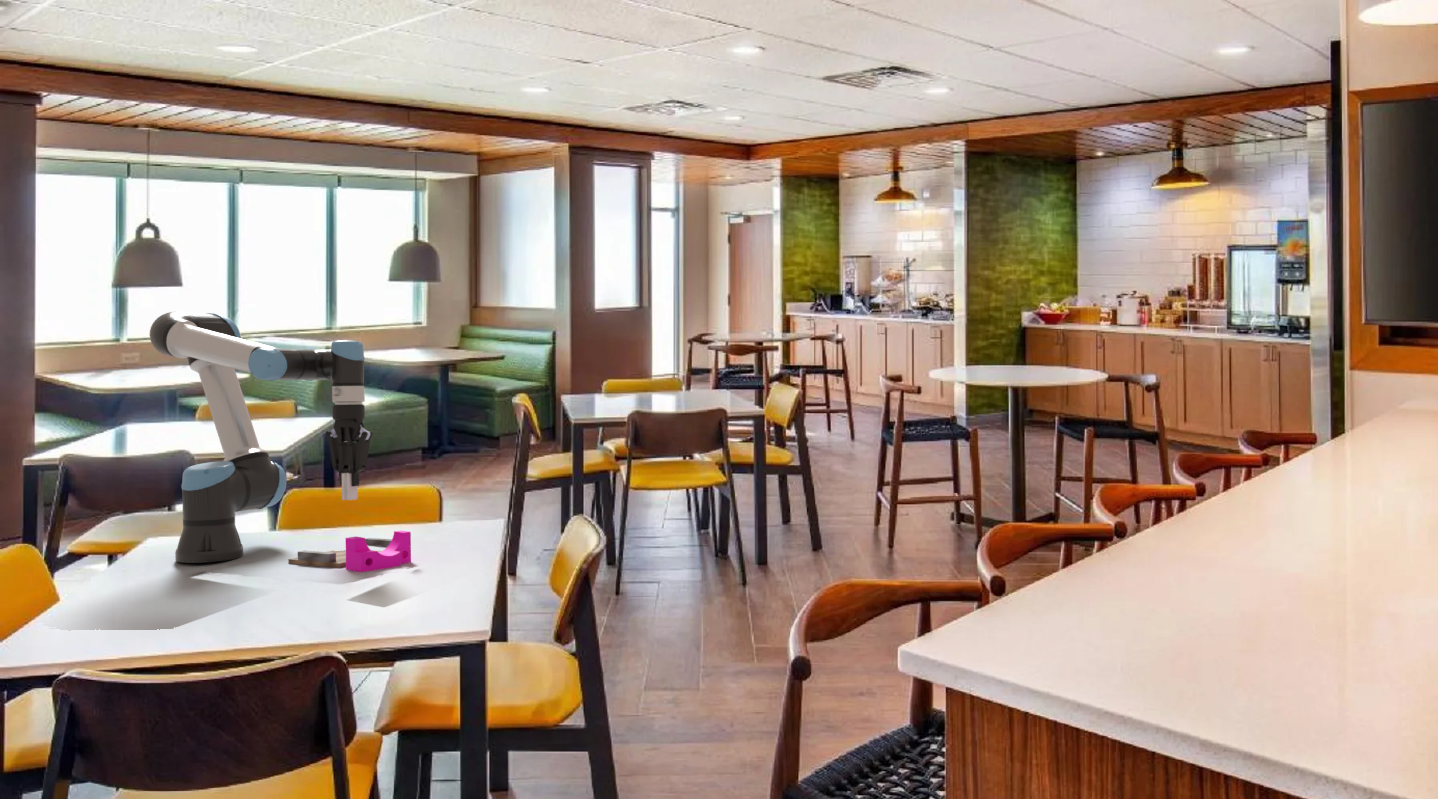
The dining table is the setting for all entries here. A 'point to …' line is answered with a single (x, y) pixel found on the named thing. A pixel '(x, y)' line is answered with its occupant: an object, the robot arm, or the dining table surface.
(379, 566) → the toy block
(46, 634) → the dining table surface
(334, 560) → the wooden serving tray
